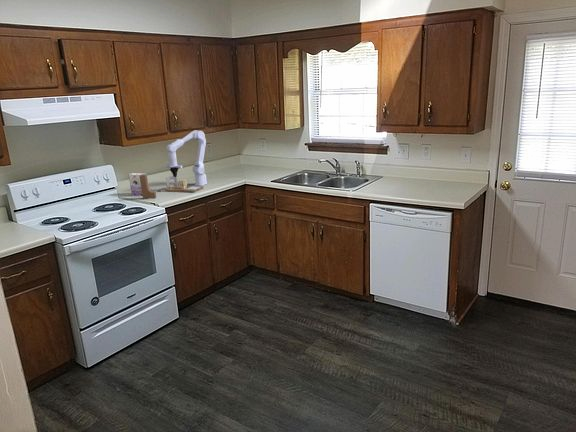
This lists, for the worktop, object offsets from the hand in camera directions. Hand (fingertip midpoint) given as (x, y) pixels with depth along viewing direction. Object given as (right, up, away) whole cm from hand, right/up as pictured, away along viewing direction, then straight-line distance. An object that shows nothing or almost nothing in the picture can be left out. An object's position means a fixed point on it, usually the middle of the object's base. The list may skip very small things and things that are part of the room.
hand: (175, 176), depth 357 cm
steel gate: (-3, -8, +4) cm, 9 cm away
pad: (+15, -9, -3) cm, 18 cm away
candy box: (-26, -14, -5) cm, 30 cm away
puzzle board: (+7, -10, 0) cm, 13 cm away
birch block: (+7, -10, +1) cm, 12 cm away
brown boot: (-14, -18, -19) cm, 30 cm away
